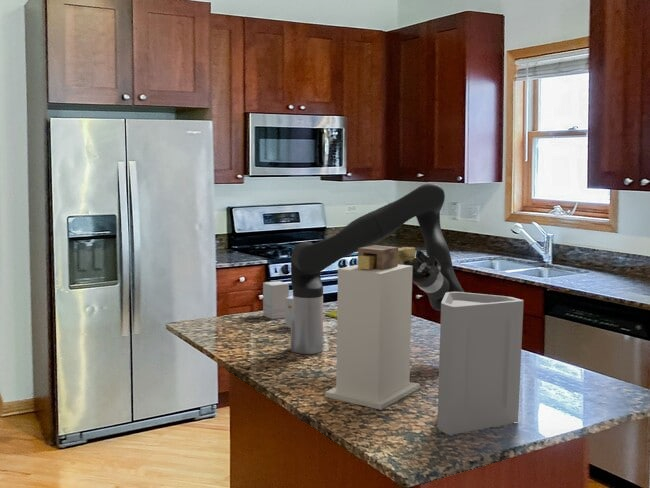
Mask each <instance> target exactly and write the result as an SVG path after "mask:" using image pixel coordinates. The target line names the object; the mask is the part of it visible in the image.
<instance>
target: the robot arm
mask: <svg viewBox="0 0 650 488" xmlns="http://www.w3.org/2000/svg"><path fill="white" fill-rule="evenodd" d="M445 197H446V195H445V191H444V188H443V187H441V186H440V185H439V184H436V183H431V182H430V183H425V184H422V185H420V186H418V187H417V188H415V189H413V190H411V191H410V192H408V193H407V194H405V195H404V196H402V197H400V198H398V199H397V200H394V201H392V202H390V203H387V204H385V205H383V206H380V207H379V208H377V209H375V210H371V211H369V212H368V213H365V214H364V215H361V216H360V217H358V218H356V219H354V220H352V221H351V222H349V223H348V224H347V225H345V227H343V228H342V229H341V230H340V231H339V232H338V233H336V234H334V235H332V236H330V237H328V238H325V239H323V240H320V241H317V242H314V243H313V242H311V241H302V242H299V243H297V244H296V245H295V246H294V248H293V249H292V252H291V255H290V256H291V257H290V278H291V280H290V283H291V288H292V296H293V320H292V321H291V328H290V353H291V352H292V353H297V354H302V355H312V354H313V355H314V354H318V353H321V352H323V350H324V349H323V345H324V342H323V340H324V339H323V338H324V337H323V335H324V334H323V333H324V331H323V330H324V327H323V326H324V323H323V322H324V286H323V283H322V279H321V272H322V271H324V270H326V269H327V268H329V266H332V265H333V264H335V263H336V262H338V261H340V260H341V259H343V258H345V257H347V256H349V255H352V254H354V253H358V248H362V247H367V246H373V245H375V244H376V243H378V242H380V241H382V240H384V239H386V238H387V237H389V236H391V235H392V234H393V233H394V232H396V231H397V230H398V229H399V228H400V227H402V225H404V224H405V223H407V222H408V221H410V220H411V219H413V218H416V220H417V223H418V226H419V229H420V231H421V235H422V238H423V242H424V247H425V252H426V254H425V253H424V251H422V250H421V249H417V250H416V251H415V259H412V260H408V261H403V262H399V263H398V264H400V265H409V266H413V268H412V283H414V285H416V286H417V287H418V288H419V289H420V290H422V291H423V292H424V293H425V294H427V296H428V300H429V303H430V306H431V308H432V309H433V310H435V311H439V312H441V302H442V300H443V298H444V295H445V293H446V292H465V290H464V288H462V285H461V284H460V282H459V280H458V278H457V275H456V272H455V271H454V267H453V261H452V256H451V251H450V249H449V246H448V243H447V241H446V239H445V237H444V235H443V231H442V227H441V211H442V207H443V205H444V202H445Z"/></svg>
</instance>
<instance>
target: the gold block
mask: <svg viewBox="0 0 650 488" xmlns="http://www.w3.org/2000/svg"><path fill="white" fill-rule="evenodd" d="M415 258H416V247H413V246H411V247H410V246H402V247H398V263H399V262H402V263H403V262H404V261H408V260H412V259H415ZM357 265H358V268H359V269H368V270H369V269H373V268H376V265H377V254H372V253H371V254H366V255H361V256H358V255H357Z"/></svg>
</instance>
